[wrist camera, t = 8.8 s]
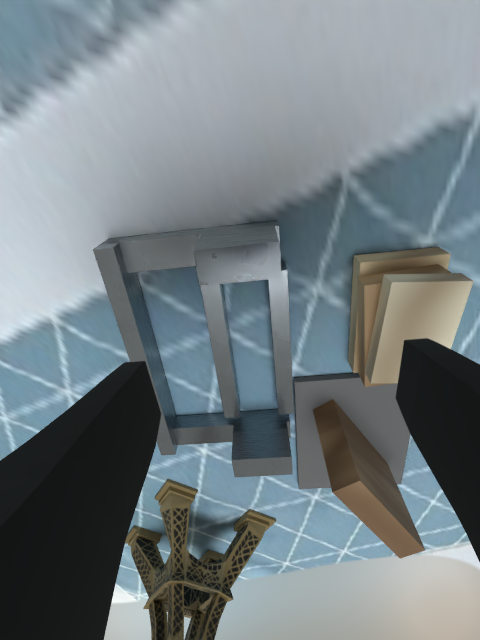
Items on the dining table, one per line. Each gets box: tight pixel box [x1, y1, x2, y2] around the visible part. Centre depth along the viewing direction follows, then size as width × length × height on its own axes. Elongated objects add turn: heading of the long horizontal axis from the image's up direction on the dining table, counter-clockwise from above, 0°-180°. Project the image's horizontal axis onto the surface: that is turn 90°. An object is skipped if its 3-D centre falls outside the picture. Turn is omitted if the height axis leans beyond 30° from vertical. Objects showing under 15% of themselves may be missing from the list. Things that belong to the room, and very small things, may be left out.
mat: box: [294, 373, 410, 489], centre depth 24 cm, size 8×11×1 cm
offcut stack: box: [348, 247, 473, 387], centre depth 18 cm, size 4×7×3 cm, turn 6°
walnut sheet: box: [313, 399, 425, 558], centre depth 21 cm, size 2×8×6 cm, turn 38°
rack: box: [93, 220, 294, 477], centre depth 19 cm, size 9×15×4 cm, turn 6°
